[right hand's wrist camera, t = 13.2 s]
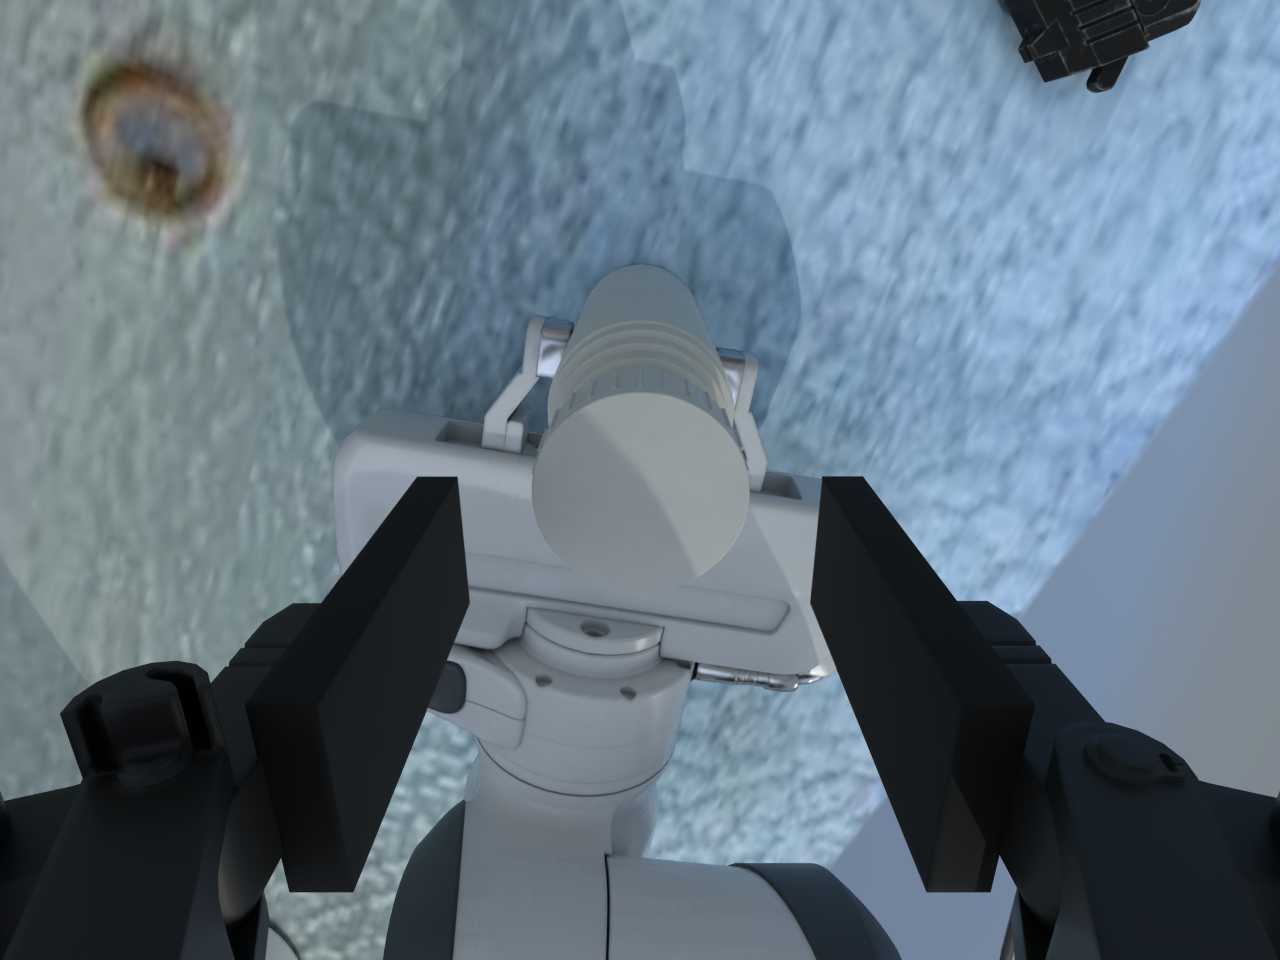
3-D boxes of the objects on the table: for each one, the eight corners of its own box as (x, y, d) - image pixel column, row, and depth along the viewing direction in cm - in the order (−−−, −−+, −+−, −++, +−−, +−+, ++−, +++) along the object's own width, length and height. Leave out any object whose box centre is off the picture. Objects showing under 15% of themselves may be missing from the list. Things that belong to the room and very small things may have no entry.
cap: (748, 544, 18) (759, 583, 16) (556, 564, 18) (548, 604, 16) (734, 355, 16) (745, 375, 14) (522, 380, 16) (509, 403, 15)
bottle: (705, 375, 34) (770, 583, 17) (590, 389, 34) (540, 607, 17) (694, 256, 32) (756, 355, 15) (572, 272, 32) (496, 385, 15)
